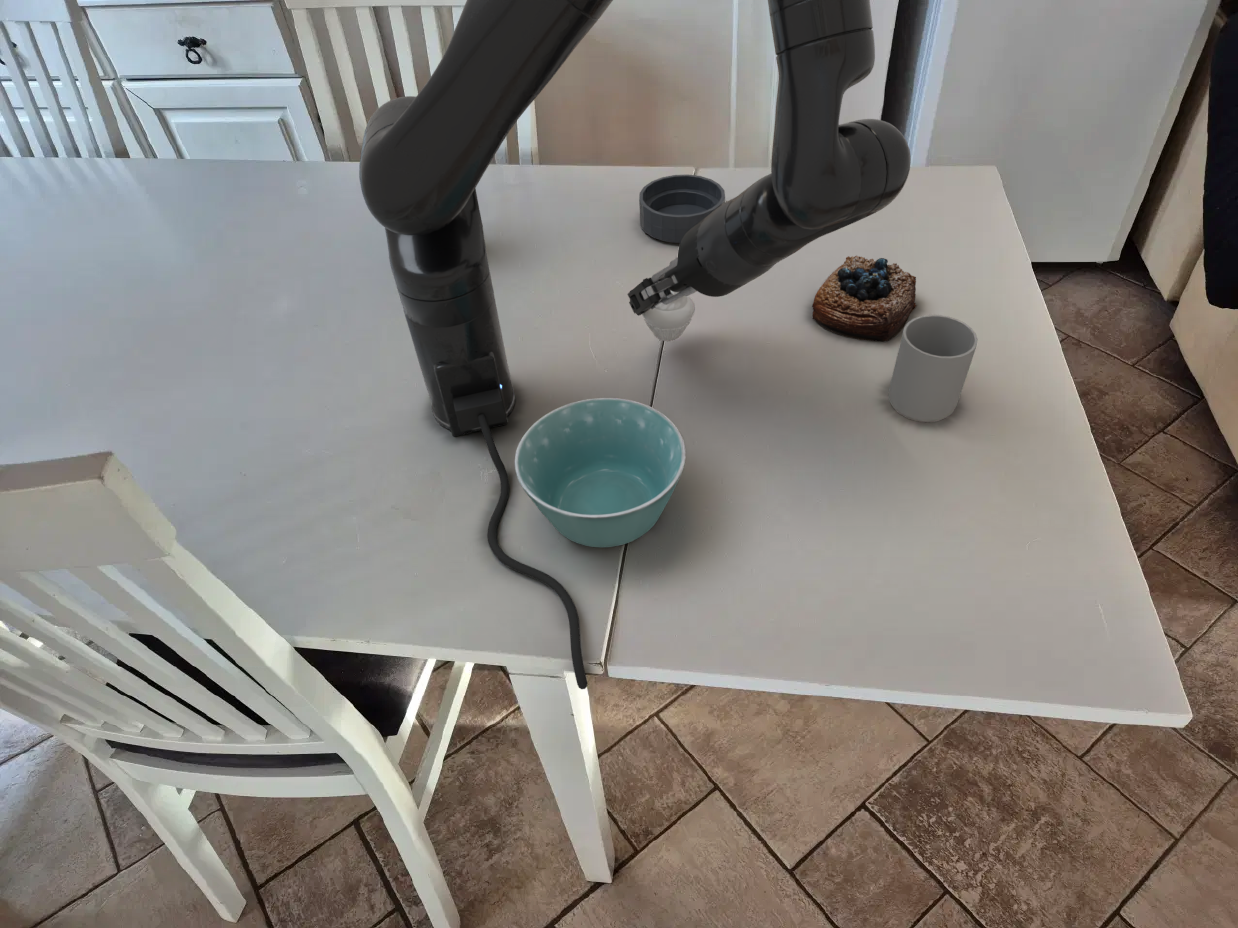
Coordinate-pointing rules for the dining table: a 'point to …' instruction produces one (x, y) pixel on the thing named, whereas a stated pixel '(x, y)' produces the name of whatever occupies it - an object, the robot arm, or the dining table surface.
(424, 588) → the dining table surface
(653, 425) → the bowl
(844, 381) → the dining table surface
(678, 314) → the white cupcake
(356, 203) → the dining table surface
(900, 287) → the pastry
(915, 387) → the cup
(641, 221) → the grey shallow dish
